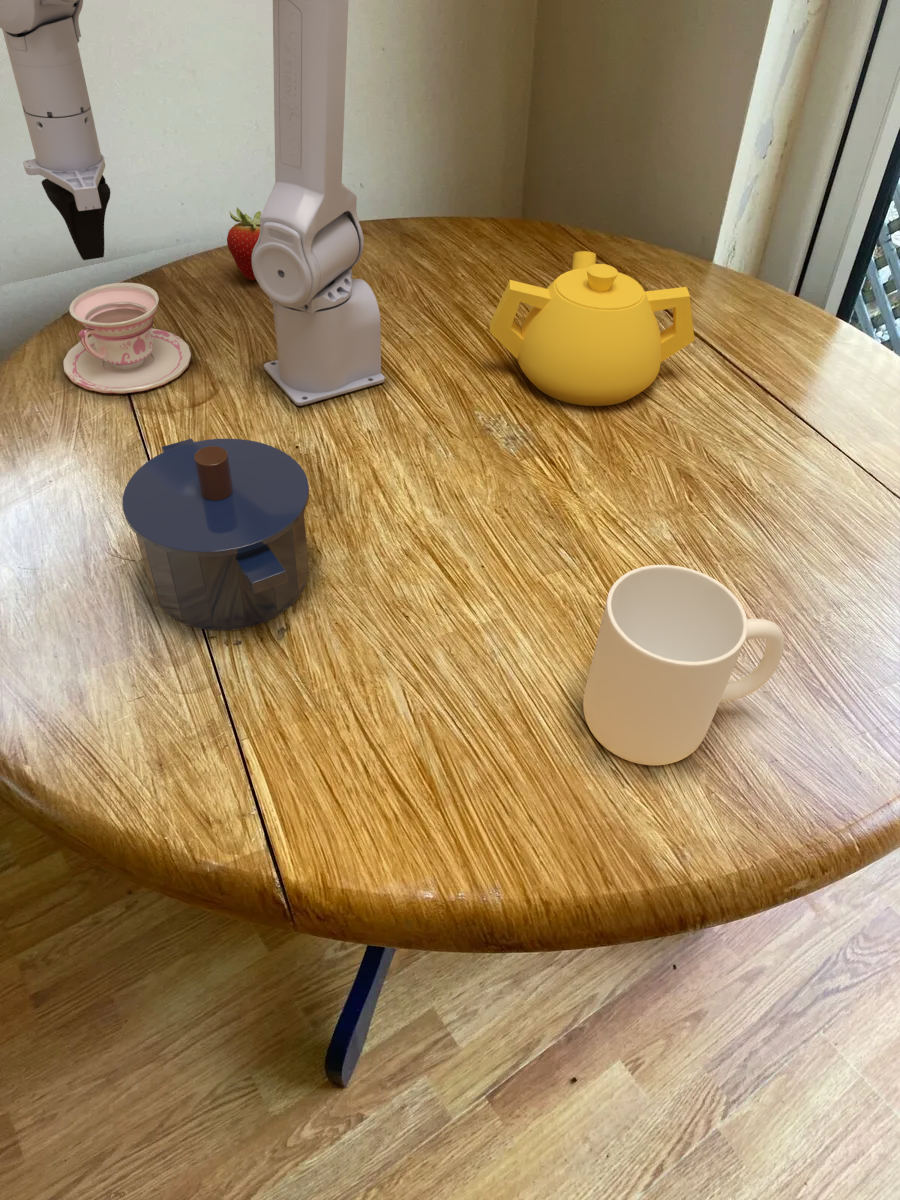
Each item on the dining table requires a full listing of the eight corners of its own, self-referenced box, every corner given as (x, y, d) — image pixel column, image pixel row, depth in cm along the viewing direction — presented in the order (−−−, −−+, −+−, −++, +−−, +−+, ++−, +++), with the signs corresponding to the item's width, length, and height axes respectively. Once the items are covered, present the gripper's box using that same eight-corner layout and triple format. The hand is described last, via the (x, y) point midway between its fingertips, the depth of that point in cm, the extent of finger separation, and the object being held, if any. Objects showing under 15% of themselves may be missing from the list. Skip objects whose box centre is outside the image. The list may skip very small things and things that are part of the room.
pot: (257, 490, 76) (247, 414, 70) (352, 618, 66) (348, 540, 60) (119, 534, 71) (97, 456, 66) (199, 679, 61) (180, 600, 56)
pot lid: (265, 433, 70) (260, 386, 67) (340, 526, 62) (338, 478, 59) (101, 481, 65) (88, 433, 62) (162, 588, 57) (150, 539, 54)
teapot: (660, 322, 100) (683, 222, 92) (697, 416, 87) (728, 308, 79) (479, 317, 99) (487, 215, 91) (490, 411, 86) (500, 302, 78)
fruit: (284, 272, 104) (278, 202, 98) (267, 293, 100) (260, 221, 95) (242, 266, 105) (234, 195, 99) (224, 286, 101) (214, 214, 95)
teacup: (120, 321, 94) (107, 264, 90) (216, 351, 91) (207, 293, 87) (36, 374, 87) (18, 314, 82) (138, 409, 83) (124, 348, 79)
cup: (569, 673, 63) (593, 566, 56) (734, 664, 64) (778, 559, 57) (596, 774, 57) (626, 668, 50) (777, 761, 58) (831, 657, 51)
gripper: (-3, 87, 84) (37, 232, 93) (22, 139, 75) (64, 294, 84) (76, 80, 86) (107, 223, 96) (110, 130, 77) (140, 282, 87)
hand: (92, 256), depth 90 cm, fingers closed
